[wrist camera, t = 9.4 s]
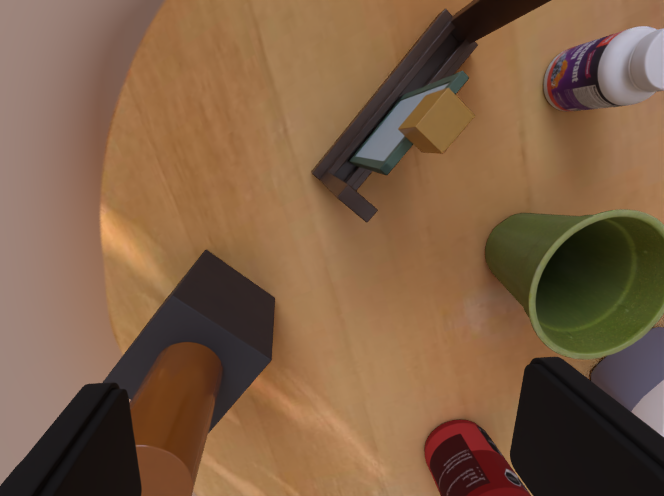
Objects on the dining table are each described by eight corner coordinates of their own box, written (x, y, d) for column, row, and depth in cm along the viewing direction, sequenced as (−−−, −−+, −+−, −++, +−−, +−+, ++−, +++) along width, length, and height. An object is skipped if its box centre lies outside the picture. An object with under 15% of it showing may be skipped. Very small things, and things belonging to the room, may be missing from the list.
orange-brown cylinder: (138, 378, 25) (63, 500, 17) (179, 328, 25) (122, 428, 16) (197, 412, 26) (155, 541, 18) (237, 365, 26) (213, 475, 17)
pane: (342, 155, 32) (384, 163, 19) (396, 88, 31) (481, 47, 18) (359, 170, 33) (412, 189, 19) (413, 105, 32) (508, 77, 18)
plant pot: (451, 209, 36) (522, 237, 26) (565, 176, 37) (681, 189, 26) (470, 315, 40) (539, 379, 29) (574, 283, 40) (679, 334, 30)
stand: (155, 313, 36) (101, 384, 25) (206, 249, 34) (171, 295, 24) (225, 357, 38) (203, 440, 27) (275, 297, 37) (272, 360, 26)
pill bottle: (566, 35, 33) (676, -7, 24) (607, 71, 35) (725, 45, 25) (529, 90, 34) (620, 70, 25) (570, 123, 36) (671, 116, 26)
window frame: (310, 172, 34) (326, 188, 21) (438, 14, 32) (538, -70, 19) (343, 200, 35) (377, 231, 22) (469, 49, 33) (584, -9, 20)
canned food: (483, 467, 46) (542, 564, 35) (419, 474, 45) (461, 575, 34) (490, 414, 44) (555, 500, 33) (424, 420, 43) (469, 510, 32)
